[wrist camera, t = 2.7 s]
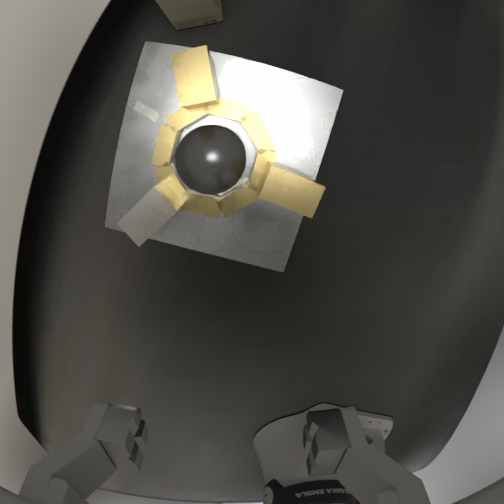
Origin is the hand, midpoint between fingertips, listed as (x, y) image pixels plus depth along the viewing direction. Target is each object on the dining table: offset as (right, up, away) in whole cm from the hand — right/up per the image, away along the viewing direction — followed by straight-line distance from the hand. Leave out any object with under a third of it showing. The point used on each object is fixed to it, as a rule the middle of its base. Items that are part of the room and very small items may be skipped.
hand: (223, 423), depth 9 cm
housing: (-2, +14, +17) cm, 22 cm away
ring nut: (-1, +13, +15) cm, 20 cm away
